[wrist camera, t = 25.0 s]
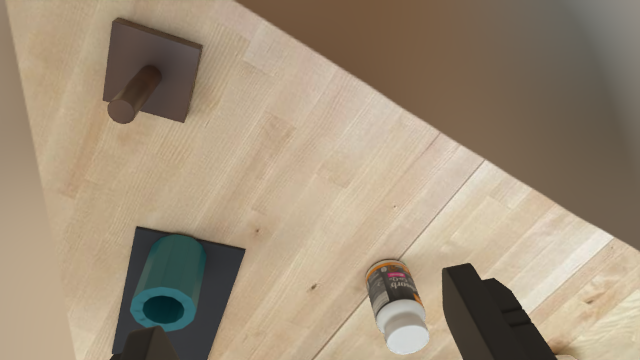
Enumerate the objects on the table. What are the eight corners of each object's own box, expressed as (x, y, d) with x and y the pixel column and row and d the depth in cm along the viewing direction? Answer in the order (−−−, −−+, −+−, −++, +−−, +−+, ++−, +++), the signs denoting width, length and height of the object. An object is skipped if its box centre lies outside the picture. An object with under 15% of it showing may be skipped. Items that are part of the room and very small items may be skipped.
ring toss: (107, 94, 38) (61, 142, 29) (118, 17, 35) (69, 45, 26) (186, 117, 40) (164, 168, 31) (203, 45, 37) (183, 80, 28)
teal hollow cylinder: (146, 270, 48) (126, 326, 41) (155, 229, 45) (135, 282, 38) (199, 279, 50) (188, 335, 43) (211, 241, 47) (201, 294, 40)
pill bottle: (416, 264, 53) (445, 328, 44) (394, 295, 55) (418, 362, 47) (376, 252, 51) (398, 317, 42) (356, 286, 53) (373, 353, 45)
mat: (112, 351, 55) (111, 354, 54) (136, 226, 45) (135, 228, 45) (205, 363, 58) (204, 366, 57) (245, 248, 48) (245, 251, 48)
